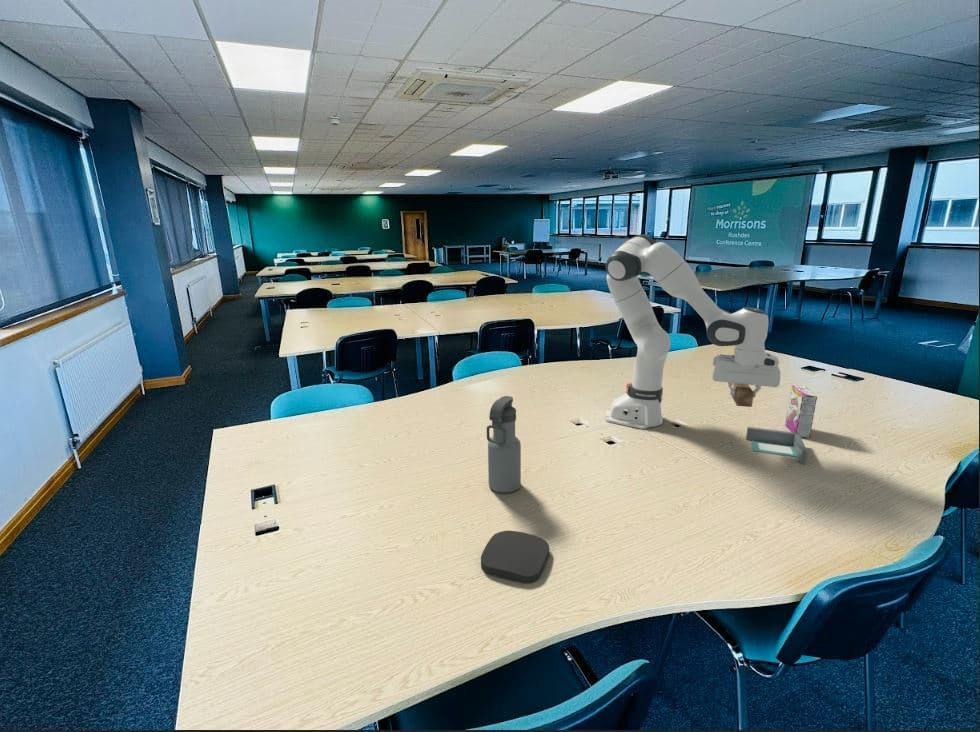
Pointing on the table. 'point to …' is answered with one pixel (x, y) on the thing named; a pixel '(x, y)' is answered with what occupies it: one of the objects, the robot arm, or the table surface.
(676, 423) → the table surface
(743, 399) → the walnut block
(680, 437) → the table surface
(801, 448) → the corner bracket
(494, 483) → the water bottle
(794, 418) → the candy bar box
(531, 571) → the media streaming box
